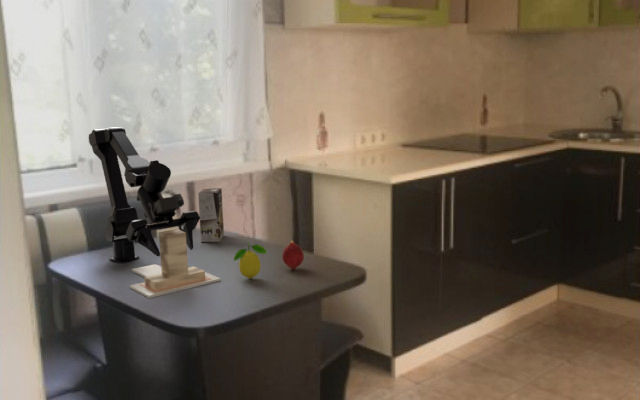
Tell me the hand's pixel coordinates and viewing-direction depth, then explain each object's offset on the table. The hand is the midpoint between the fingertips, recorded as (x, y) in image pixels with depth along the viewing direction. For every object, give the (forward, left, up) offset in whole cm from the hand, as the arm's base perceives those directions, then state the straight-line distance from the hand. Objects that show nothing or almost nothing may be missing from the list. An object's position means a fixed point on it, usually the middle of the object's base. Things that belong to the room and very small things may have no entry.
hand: (175, 252), depth 170 cm
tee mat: (-8, +1, -9) cm, 12 cm away
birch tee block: (-1, 0, -8) cm, 8 cm away
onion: (+14, +28, -9) cm, 33 cm away
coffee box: (-32, +38, -9) cm, 50 cm away
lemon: (+11, +15, -9) cm, 21 cm away
